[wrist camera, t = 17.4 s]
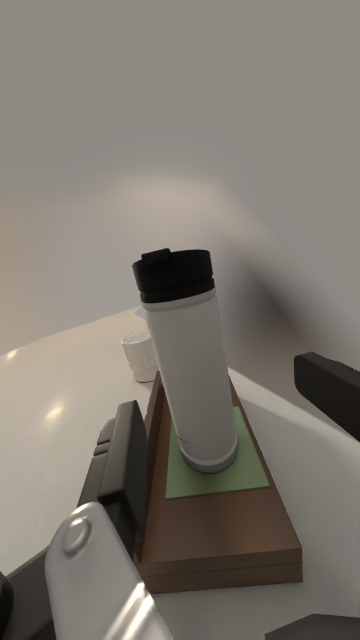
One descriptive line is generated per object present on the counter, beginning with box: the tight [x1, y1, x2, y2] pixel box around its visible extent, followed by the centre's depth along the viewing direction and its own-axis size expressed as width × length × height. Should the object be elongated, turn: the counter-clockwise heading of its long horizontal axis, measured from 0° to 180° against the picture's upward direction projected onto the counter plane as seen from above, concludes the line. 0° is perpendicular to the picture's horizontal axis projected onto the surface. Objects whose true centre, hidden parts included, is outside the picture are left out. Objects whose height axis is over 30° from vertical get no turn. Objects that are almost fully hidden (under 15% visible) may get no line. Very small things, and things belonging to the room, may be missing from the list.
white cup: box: [121, 330, 159, 382], centre depth 42 cm, size 8×8×10 cm
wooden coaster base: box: [133, 371, 303, 594], centre depth 22 cm, size 12×20×7 cm, turn 179°
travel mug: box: [132, 248, 238, 473], centre depth 17 cm, size 6×7×20 cm
